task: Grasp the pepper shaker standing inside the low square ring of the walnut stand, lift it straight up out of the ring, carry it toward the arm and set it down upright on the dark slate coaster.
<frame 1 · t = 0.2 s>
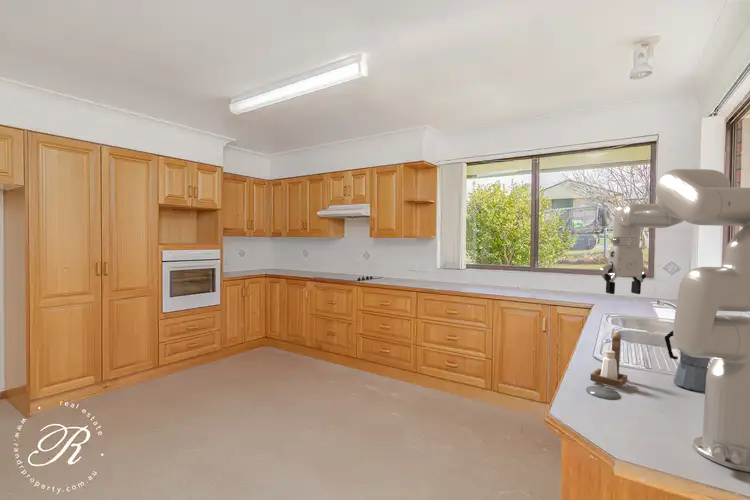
hand: (622, 293, 129), 30 cm above the table, tool pointing down, fingers open, 9 cm apart
coaster: (602, 393, 119), on the table
moka pot: (689, 387, 126), on the table
ring stand: (608, 383, 127), on the table
pepper shaker: (608, 384, 127), resting in ring stand
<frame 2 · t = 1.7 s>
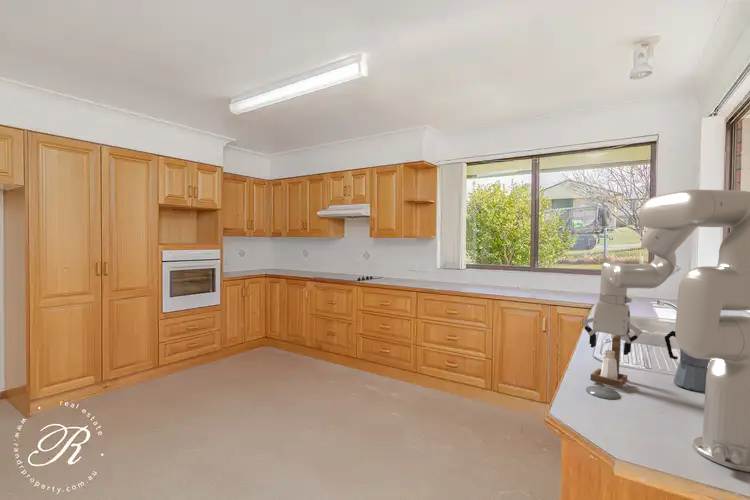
hand: (609, 350, 127), 11 cm above the table, tool pointing down, fingers open, 9 cm apart
nothing on the table moved.
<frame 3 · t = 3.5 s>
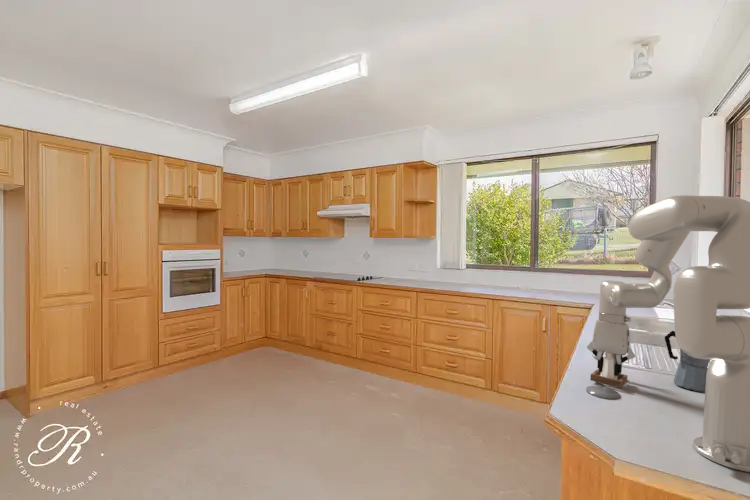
hand: (609, 372, 127), 4 cm above the table, tool pointing down, fingers closed on pepper shaker, 4 cm apart
pepper shaker: (608, 384, 127), resting in ring stand, touching gripper
everything else where it was.
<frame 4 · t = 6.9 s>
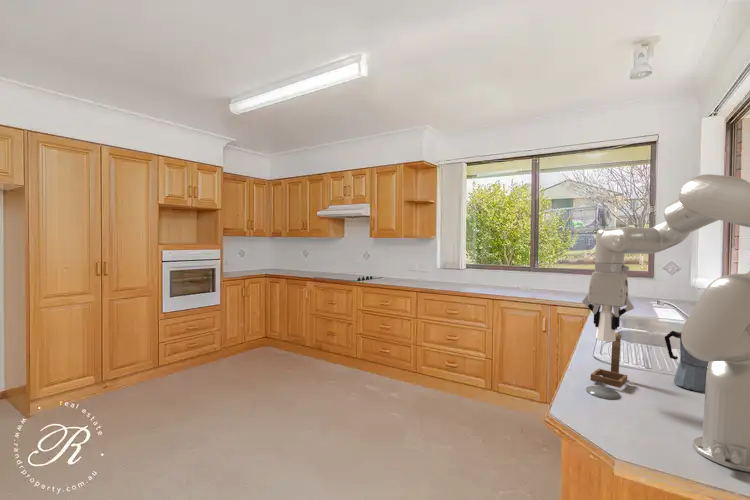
hand: (606, 327, 118), 21 cm above the table, tool pointing down, fingers closed on pepper shaker, 4 cm apart
pepper shaker: (605, 340, 119), point 17 cm above the table, touching gripper
everything else where it was.
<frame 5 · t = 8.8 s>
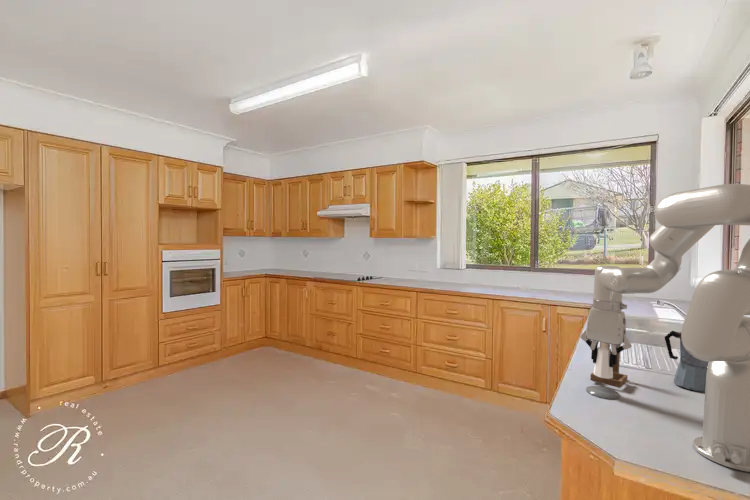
hand: (603, 363, 119), 9 cm above the table, tool pointing down, fingers closed on pepper shaker, 4 cm apart
pepper shaker: (603, 376, 119), point 5 cm above the table, touching gripper
everything else where it was.
when the fingers open (6 cm above the table, at t = 10.3 s): pepper shaker drops 1 cm, resting on coaster.
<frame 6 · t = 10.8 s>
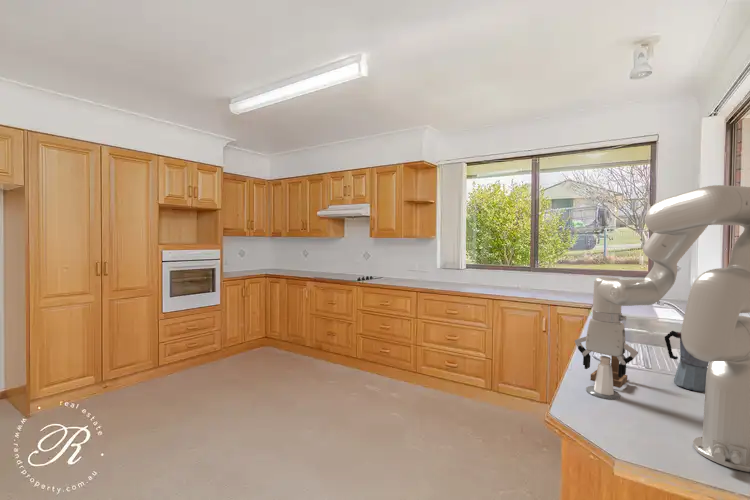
hand: (603, 371, 119), 7 cm above the table, tool pointing down, fingers open, 9 cm apart
pepper shaker: (603, 392, 119), resting on coaster
everything else where it was.
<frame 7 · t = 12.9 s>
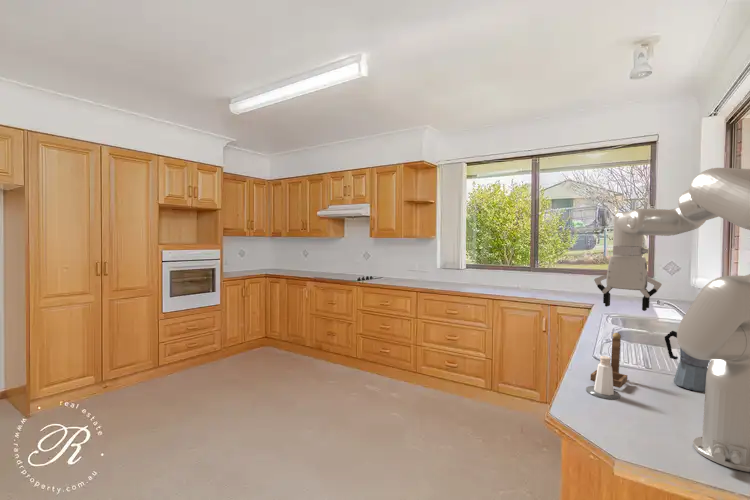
hand: (625, 308, 117), 27 cm above the table, tool pointing down, fingers open, 9 cm apart
nothing on the table moved.
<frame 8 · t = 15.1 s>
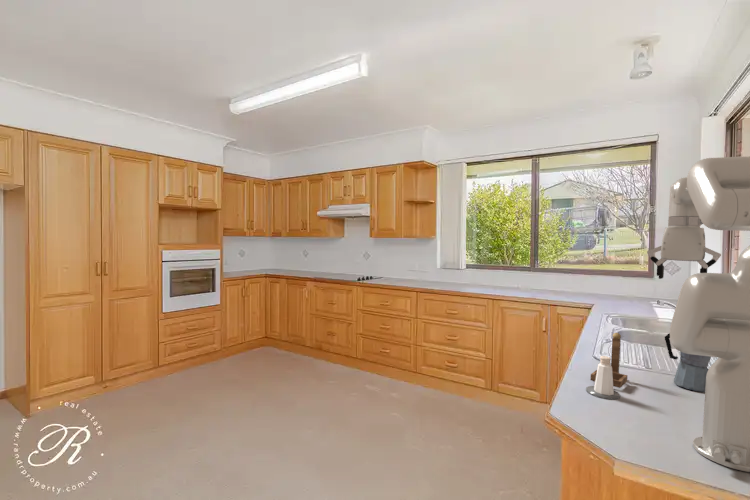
hand: (680, 280, 115), 36 cm above the table, tool pointing down, fingers open, 9 cm apart
nothing on the table moved.
at the end: pepper shaker inside the target area on the coaster (0.3 cm from its centre), point 0.3 cm above the coaster's base; pepper shaker tilted 0°; the gripper is holding nothing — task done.
